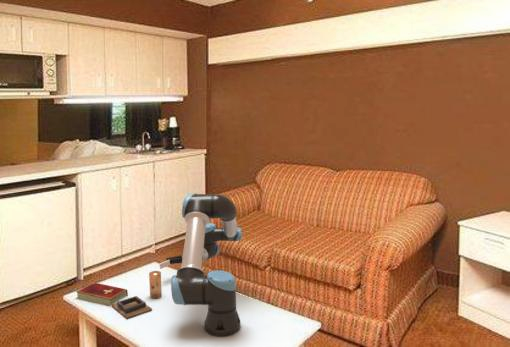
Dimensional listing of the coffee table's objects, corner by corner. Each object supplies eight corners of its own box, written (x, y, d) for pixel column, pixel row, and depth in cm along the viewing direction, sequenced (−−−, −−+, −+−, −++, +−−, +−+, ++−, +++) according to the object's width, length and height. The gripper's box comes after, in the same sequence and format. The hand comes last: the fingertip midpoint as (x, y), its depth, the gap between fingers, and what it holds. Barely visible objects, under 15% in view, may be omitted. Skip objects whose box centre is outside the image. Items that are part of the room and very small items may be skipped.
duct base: (151, 310, 193) (151, 304, 192) (126, 319, 185) (126, 312, 185) (135, 298, 205) (135, 292, 204) (111, 306, 197) (111, 300, 197)
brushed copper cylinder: (163, 296, 207) (162, 273, 205) (153, 300, 204) (152, 276, 202) (158, 293, 211) (157, 269, 209) (148, 296, 208) (147, 272, 206)
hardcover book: (94, 289, 217) (94, 281, 216) (127, 296, 208) (127, 288, 208) (76, 299, 206) (75, 290, 205) (110, 307, 198) (110, 298, 197)
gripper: (215, 267, 226) (188, 281, 208) (181, 258, 239) (152, 270, 222) (215, 254, 224) (188, 267, 207) (180, 245, 238) (152, 257, 220)
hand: (169, 269), depth 214 cm, fingers open, 13 cm apart
